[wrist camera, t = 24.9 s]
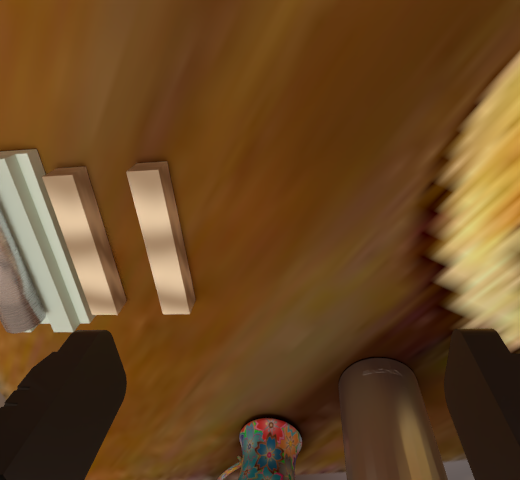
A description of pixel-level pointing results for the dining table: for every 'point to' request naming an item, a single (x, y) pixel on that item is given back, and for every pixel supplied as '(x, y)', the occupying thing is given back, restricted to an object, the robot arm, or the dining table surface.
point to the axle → (16, 287)
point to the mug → (267, 451)
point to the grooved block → (41, 240)
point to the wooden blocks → (97, 245)
